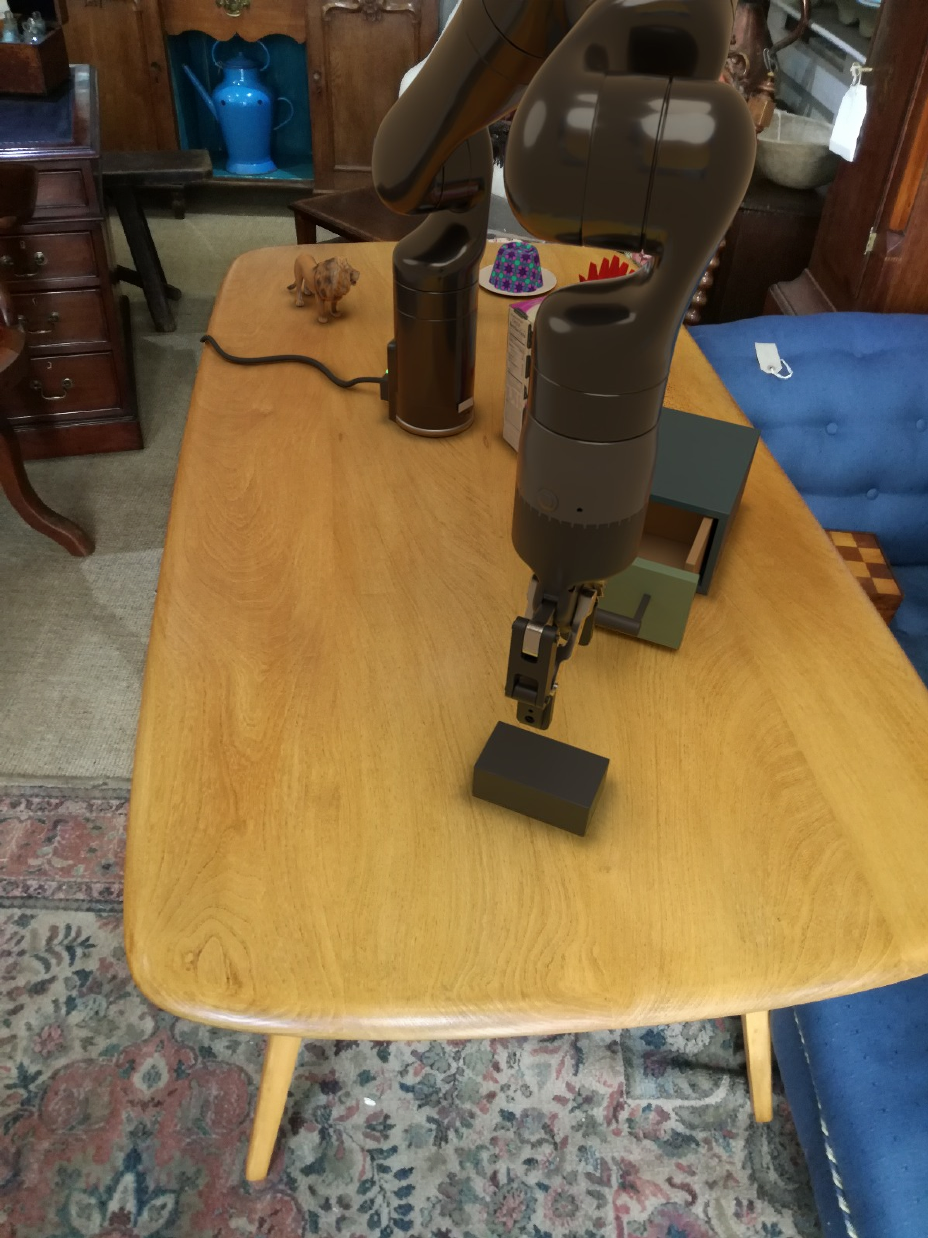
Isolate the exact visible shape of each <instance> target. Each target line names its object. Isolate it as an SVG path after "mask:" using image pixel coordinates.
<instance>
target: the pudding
mask: <svg viewBox="0 0 928 1238" xmlns="http://www.w3.org/2000/svg"><path fill="white" fill-rule="evenodd" d="M557 282H558V281H557V277H556V275H555V274H554V273H553V272H552V271H550V270H549V269H547V268H545V267H543V266H541V258H540V254H539V251H538V249H537V247H536V246H535V245H533V244H530V243H528V242H525V241H521V242H519V241H510V242H506V243H503V244H501V246H499V248H498V250H497V252H496V256H495V258H494V262H493V263H492V264H489V265H487V266H484V267H482V268H480V270H479V286H482V287H483V288H485V289H486V290H489V291H491V292H493V293H497V294H501V295H506V296H514V297H515V296H517V297H525V296H526V297H527V296H535V295H540V294H543V293H546V292H548V291H550V290H552V289H554V287H556V285H557Z"/></svg>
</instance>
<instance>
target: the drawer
mask: <svg viewBox="0 0 928 1238" xmlns="http://www.w3.org/2000/svg"><path fill="white" fill-rule="evenodd" d="M716 520H717V518H713V517H709V516H706V515H702V514H698V513H694V512H691V511H687V510H683V509H679V508H676V507H672V506H668V505H664V504H660V503H657V502H653V501H649V502H648V507H647V512H646V517H645V522H644V527H643V532H642V537H641V542H640V547H639V551H638V554H637V557H636V558H635V560H634V561H633V563H632V564H631V565H630V566H629V567H628V568H627V569H626V570H625V571H623V572H622V573H620V574H618V575H616V576H614V577H612V578H609V582H608V585H607V588H606V591H605V594H604V597H602V598H601V600H600V602H598V601H595V602H598V607H597V613H596V619H595V624H594V626H598V627H601V628H605V629H608V630H611V631H615V632H618V633H621V634H624V635H628V636H631V637H634V638H639V639H642V640H646V641H648V642H652V643H655V644H658V645H662V646H665V647H668V648H671V649H675V650H678V651H679V650H680V648H681V645H682V642H683V639H684V636H685V635H684V634H685V632H686V628H687V624H688V620H689V618H690V617H689V616H690V613H691V610H692V606H693V603H694V598H695V594H696V592H695V591H696V587H697V584H698V580H699V576H700V575H699V573H700V571H701V568H702V565H703V563H704V560H705V558H706V555H707V552H708V549H709V545H710V542H711V538H712V534H713V531H714V527H715V523H716Z"/></svg>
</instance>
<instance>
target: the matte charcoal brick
mask: <svg viewBox="0 0 928 1238" xmlns="http://www.w3.org/2000/svg"><path fill="white" fill-rule="evenodd" d="M610 762H611V759H610V758H608V757H606V756H603V755H600V754H597V753H595V752H591V751H588V750H586V749H582V748H579V747H576V746H573V745H571V744H568V743H566V742H562V741H559V740H556V739H553V738H551V737H548V736H546V735H542V734H539V733H536V732H534V731H531V730H527V729H525V728H522V727H519V726H516V725H513V724H511V723H507V722H505V721H502V720H498V721H497V723H496V725H495V726H494V728H493V730H492V732H491V733H490V735H489V737H488V740H487V741H486V743H485V744H484V747H483V748H482V749H481V753H479V756H478V758H477V759H476V762H475V763H474V765H473V773H472V789H471V796H474V797H477V798H479V799H482V800H484V801H487V802H489V803H493V804H495V805H498V806H501V807H502V808H503V807H504V808H505V809H507V810H512V811H514V812H516V813H519V814H522V815H525V816H527V817H529V818H532V819H535V820H538V821H541V822H543V823H546V824H549V825H551V826H554V827H556V828H558V829H562V830H565V831H567V832H570V833H572V834H575V835H578V836H580V837H585V836H586V832H587V830H588V828H589V826H590V823H591V821H592V819H593V816H594V813H595V810H596V808H597V805H598V803H599V800H600V798H601V796H602V793H603V790H604V789H605V784H606V780H607V776H608V775H607V774H608V770H609V767H610V766H609V765H610Z"/></svg>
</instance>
